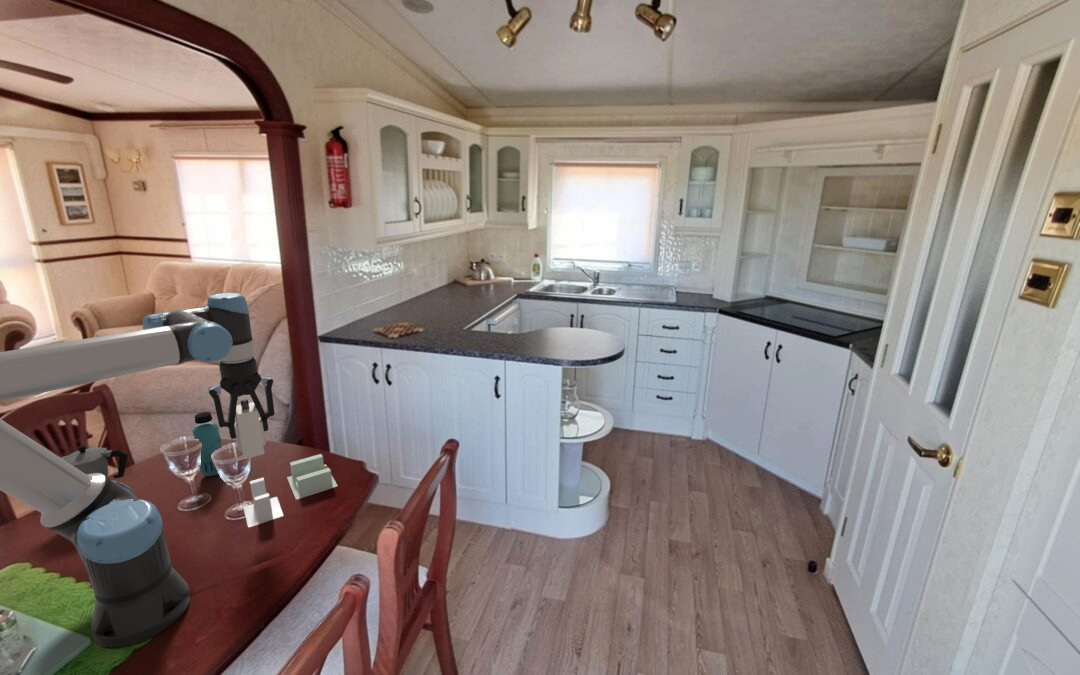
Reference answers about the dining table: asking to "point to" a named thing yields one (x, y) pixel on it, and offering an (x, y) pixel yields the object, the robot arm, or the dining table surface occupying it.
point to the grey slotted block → (261, 505)
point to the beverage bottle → (207, 441)
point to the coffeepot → (96, 460)
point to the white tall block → (249, 429)
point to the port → (310, 476)
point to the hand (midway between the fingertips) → (251, 445)
